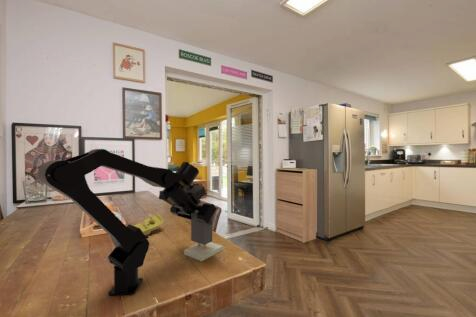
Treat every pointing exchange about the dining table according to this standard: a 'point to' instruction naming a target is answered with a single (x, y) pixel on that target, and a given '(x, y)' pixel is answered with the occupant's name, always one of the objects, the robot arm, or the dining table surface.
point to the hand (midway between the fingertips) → (204, 222)
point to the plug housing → (200, 231)
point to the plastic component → (150, 224)
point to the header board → (203, 250)
